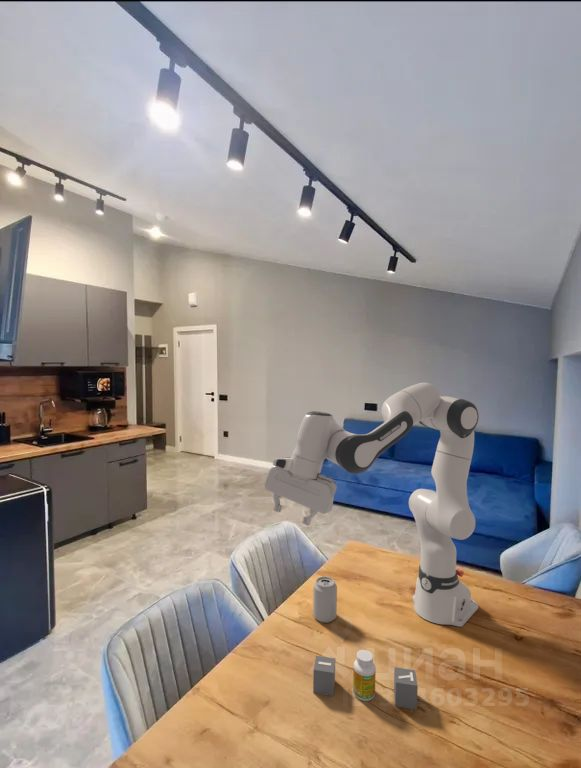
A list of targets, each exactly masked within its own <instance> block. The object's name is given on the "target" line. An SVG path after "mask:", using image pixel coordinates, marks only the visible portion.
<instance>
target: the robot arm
mask: <svg viewBox="0 0 581 768" xmlns="http://www.w3.org/2000/svg"><path fill="white" fill-rule="evenodd" d="M381 416H382V420H383V423H381V424H380V425H379V426H377V427H376V428H375V429H373V430H372V431H370V432H368V433H366V434H365V433H364V434H357V433H352V432H349V431H347V430H346V429H345V428H343V427H342V426H341V425H340V424H339V423H338V422H337V421H336V420H335V418H334V416H333V414H330V413H329V412H323V411H322V412H321V411H309V412H307V413H306V414H305V415H304V417H303V418H302V421H301V423H300V426H299V429H298V432H297V436H296V442H295V443H296V445H295V448H294V449H293V451H292V453H291V457H275V458H274V459H273V461H272V465H273V466H272V467H271V468H270V469H269V470H268V473H267V476H266V479H265V482H264V488H265V490H266V491H268V492H270V493H272V494H273V496H272V497H273V503H274V508H273V511H275V512H277V513H281V512H282V509H283V505H281V500H280V499H282V498H285V499H286V500H289V501H291V502H294V503H296V504H299V505H300V506H303V507H306V508H308V509H309V513H310V514H309V515H308V516H304V517H303V521H302V525H303V524H304V525H306V526H310V524H311V521H312V519H314V517H315V516H316V515H317V514H318V513H320V514H322V515H326V514H329V513H330V512H331V511H332V509H333V505H334V497H335V495H336V492H337V488H338V485H337V483H336V481H335V480H334V478H332V477H328V476H326V475H324V474H321V472H322V468H323V464H324V461H325V460H328V461H329V462H331V463H333V464H335V465H337V466H339V467H341V468H342V469H343V470H345V471H346V472H348V473H350V474H354V475H357V474H363V473H365V472H366V471H368V470H369V469H371V467H372V466H373V464H374V463H375V462H376V460H377V459H378V458H379V457H380V456H381V455H382V454H383V453H384V452H386V451H387V450H389V449H390V448H391V447H392V446H394V445H395V444H396V443H398V442H399V441H400V440H401V439H403V438H404V437H405V436H407V434H408V433H409V432H410V431H411V430H412V428H413V426H415V425H418V423H419V424H420V425H423V426H424V427H429V428H431V429H434V430H437V431H439V433H440V437H439V440H438V443H437V446H436V449H435V450H436V451H435V453H434V454H435V455H434V458H433V463H432V466H431V471H430V472H431V473H430V474H431V476H432V479H433V480H434V484H435V490H436V491H435V490H432V489H427V488H418V489H416V490H414V491H413V492H412V493H411V494H410V496H409V498H408V508H409V510H410V512H411V513H412V515H413V518H414V521H415V523H416V525H415V526H416V528H417V532H418V533H417V534H418V537H419V542H420V543H419V544H420V564H419V566H418V577H417V578H416V584H415V591H414V592H415V593H414V594H413V595H412V601H413V609H414V611H415V613H416V614H417V615H418V616H419V617H421V618H422V619H424V620H426V621H427V622H431V623H433V624H438V625H448V626H450V625H451V626H453V627H455V626H456V627H460V628H461V627H464V625H465V624H466V623H467V622H468V621H469V620H470V618H471V617H472V616H473V615H474V614H475V613H476V612H477V611H478V610H479V604H478V603H477V602H476V601H475V600H474V599H473V598H472V594H471V590H470V589H469V587H468V586H467V585H466V584H464V583H463V582H462V581H460V580H459V577H460V578H462V577H463V576H464V575H465V574H464V570H461V569H460V568H457V548H456V545H455V543H454V542H453V540H452V539H454V540H455V539H456V540H466V539H468V538H469V537H470V536H471V535H473V533H474V531H475V529H476V517H475V515H474V513H473V512H472V510H471V507H470V503H469V499H468V491H467V489H468V487H467V484H468V483H467V482H468V477H469V474H470V473H469V472H470V468H471V467H470V466H471V465H472V463H471V462H472V458H473V454H474V447H475V431H474V430H475V429H476V427H477V426H478V422H479V412H478V408H477V406H476V405H475V404H474V403H473V402H471V401H469V400H466V399H463V398H457V397H453V396H449V395H448V396H447V395H445V396H442V395H441V394H440V392H439V390H438V388H437V387H436V386H435V385H433V384H432V383H429V382H424V381H423V382H419V383H416V384H413V385H410V386H408V387H405V388H403V389H401V390H399V391H397V392H395V393H394V394H392V395H390V396H389V397H388V398H387V399H386V400H384V401H383V403H382V407H381Z"/></svg>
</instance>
